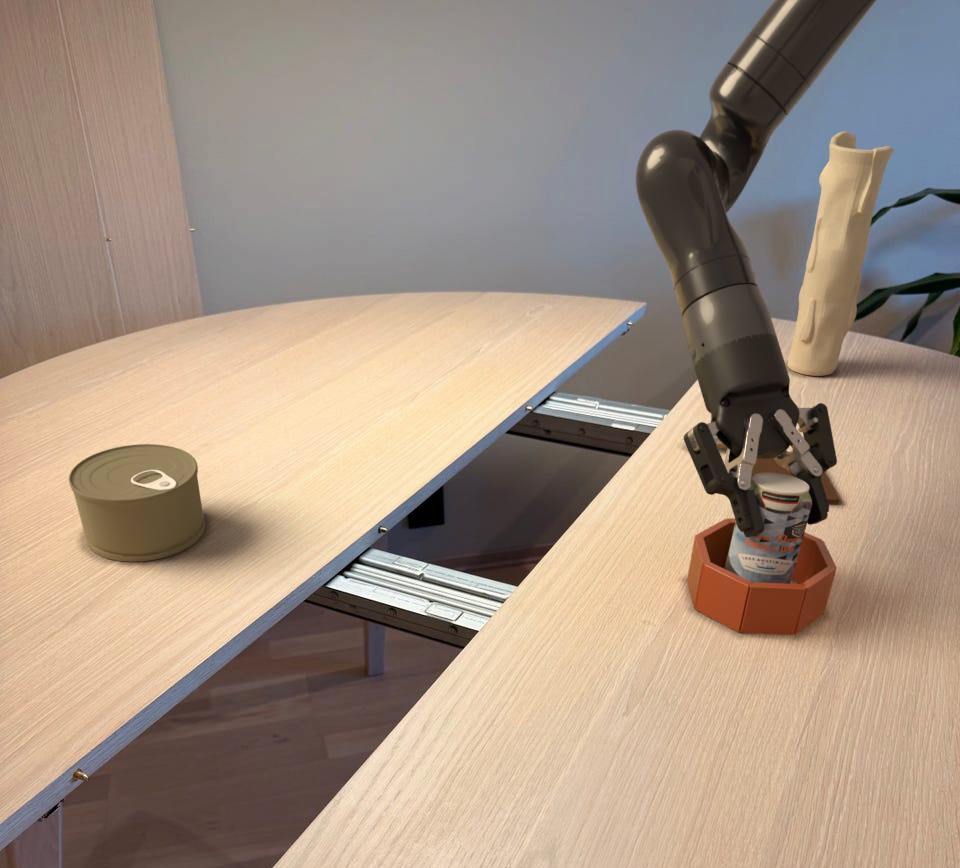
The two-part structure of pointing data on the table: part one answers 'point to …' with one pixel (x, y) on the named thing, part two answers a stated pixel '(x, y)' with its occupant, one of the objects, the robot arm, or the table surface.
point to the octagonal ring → (758, 586)
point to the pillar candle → (836, 254)
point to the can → (138, 501)
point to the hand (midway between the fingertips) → (787, 527)
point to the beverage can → (772, 530)
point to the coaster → (773, 467)
